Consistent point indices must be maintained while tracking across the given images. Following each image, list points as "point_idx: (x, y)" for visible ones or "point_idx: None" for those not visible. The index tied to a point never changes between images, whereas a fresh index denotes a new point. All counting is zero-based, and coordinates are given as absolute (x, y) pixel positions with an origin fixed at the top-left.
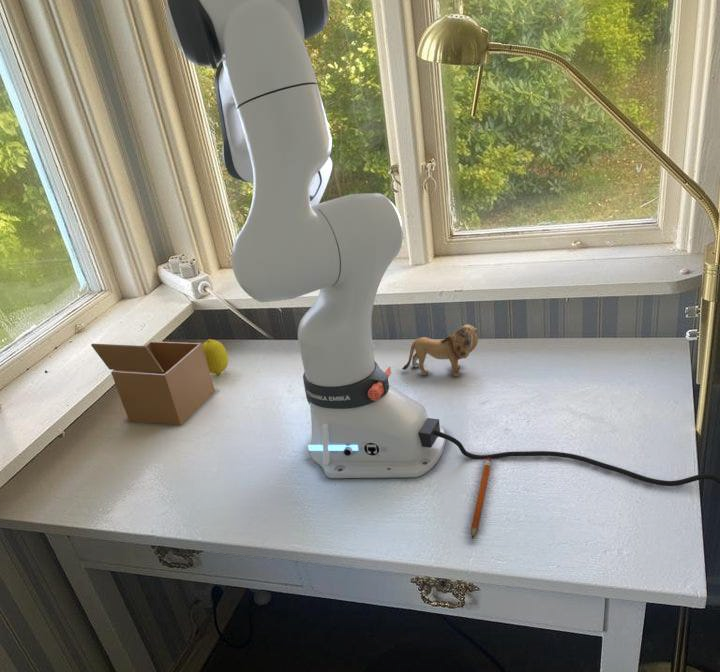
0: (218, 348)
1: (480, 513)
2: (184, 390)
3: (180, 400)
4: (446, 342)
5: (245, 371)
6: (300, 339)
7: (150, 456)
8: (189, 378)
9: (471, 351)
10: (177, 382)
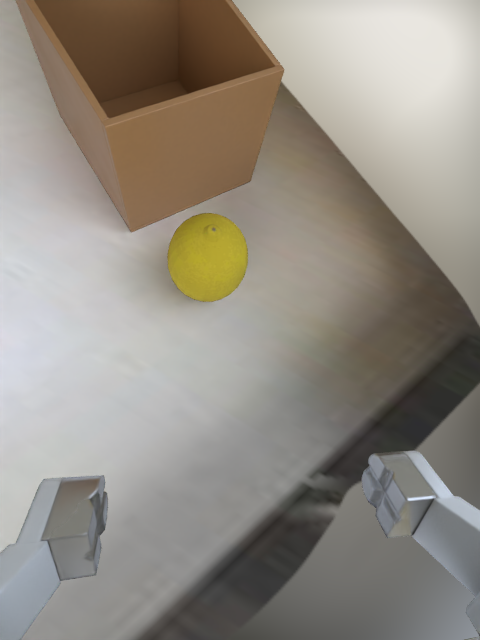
0: (177, 249)
1: None
2: (60, 93)
3: (52, 86)
4: None
5: (159, 336)
6: None
7: (8, 33)
8: (70, 102)
9: None
10: (39, 46)
